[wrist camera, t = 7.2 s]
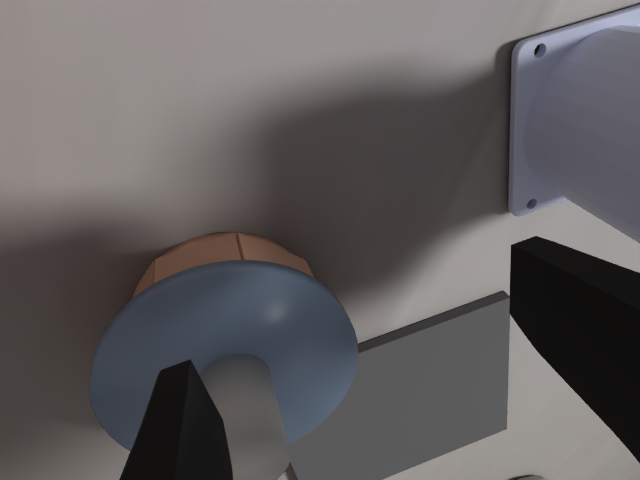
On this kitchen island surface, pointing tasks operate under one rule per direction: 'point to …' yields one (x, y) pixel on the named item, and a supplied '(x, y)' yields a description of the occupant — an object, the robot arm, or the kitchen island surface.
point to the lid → (232, 356)
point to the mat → (415, 396)
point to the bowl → (218, 255)
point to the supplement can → (532, 478)
